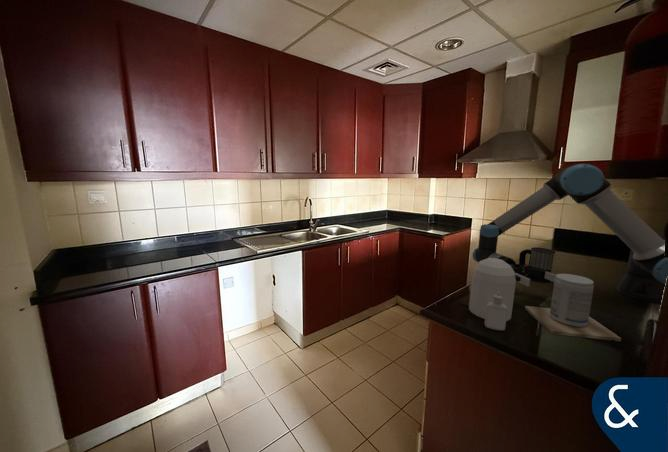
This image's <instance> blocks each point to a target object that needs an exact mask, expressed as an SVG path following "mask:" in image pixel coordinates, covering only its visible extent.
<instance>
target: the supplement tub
mask: <svg viewBox="0 0 668 452" xmlns="http://www.w3.org/2000/svg"><path fill="white" fill-rule="evenodd" d="M555 275H556V277H555V281H554V282H553V290H552V296H551V304H550V308H551V310H550V315H551V317H552V318H553V319H555V320H556V321H558V322H561V323H563V324H567V325H571V326H576V327H582V326H586V325H587V324H588V319H589V316H590V312H591V307H592V302H593V301H592V300H593V295H594V284H595V283H594V281H593V280H592V279H590V278H588V277H585V276H581V275H577V274H570V273H557V274H555Z"/></svg>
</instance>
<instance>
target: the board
mask: <svg viewBox="0 0 668 452" xmlns="http://www.w3.org/2000/svg"><path fill="white" fill-rule="evenodd" d="M524 309H525V310H526V311H527V312H528V313H529V314H530V315H531V316H532V317H533V318H534V319H536V320H537V322H538V323H539V324H540V325H541V326H542V327H544V329H545V330H547V332H548V333H550V334H551V335H560V336H569V337H577V338H586V339H587V338H588V339H594V340H604V341H612V340H614V342H621V341H622V337H620V336H618V335H617V334H616V333H615V332H613V331H612V330H610V329H608V328H607V327H605V326H604V325H603V324H602V323H600V322H598V321H597V320H595V319H594V318H592V317H591V316H590V315H589V319H588V324H587V325H586V326H582V327H576V326H571V325H567V324H563V323H561V322H558V321H556V320H555V319H553V318H552V317H551V315H550V310H551V307H539V306H530V305H529V306H528V305H525V306H524Z"/></svg>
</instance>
